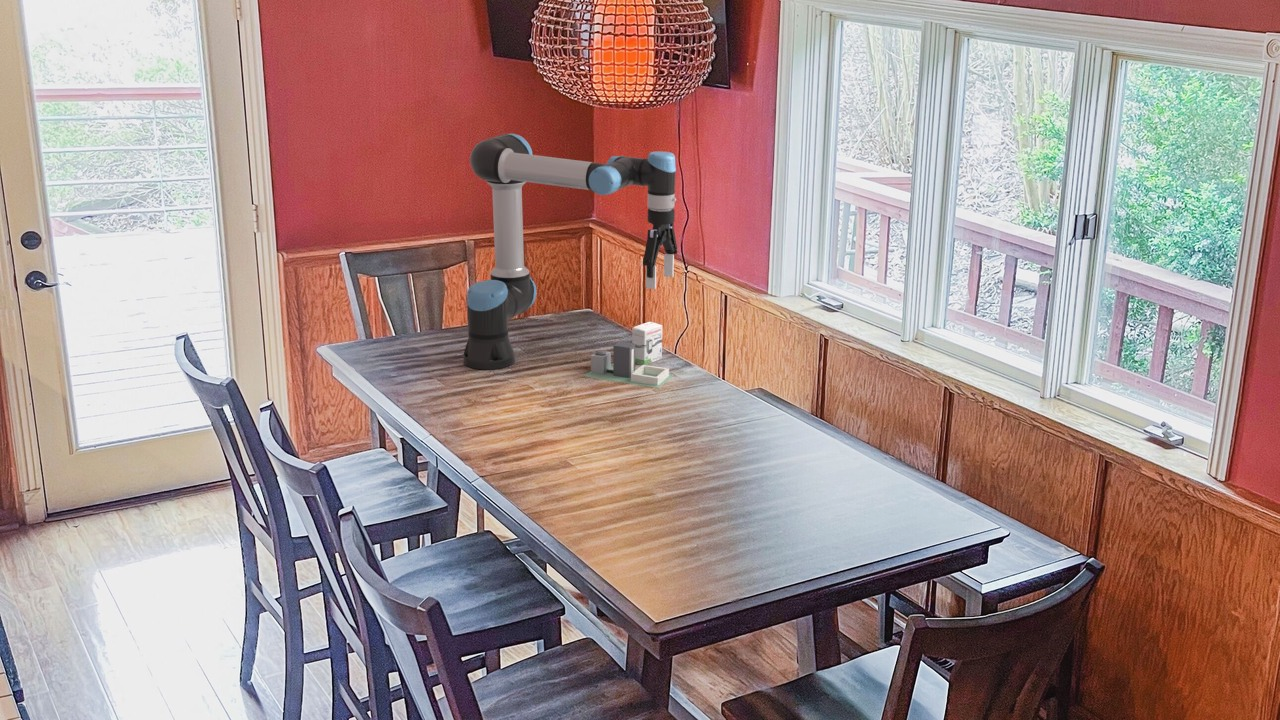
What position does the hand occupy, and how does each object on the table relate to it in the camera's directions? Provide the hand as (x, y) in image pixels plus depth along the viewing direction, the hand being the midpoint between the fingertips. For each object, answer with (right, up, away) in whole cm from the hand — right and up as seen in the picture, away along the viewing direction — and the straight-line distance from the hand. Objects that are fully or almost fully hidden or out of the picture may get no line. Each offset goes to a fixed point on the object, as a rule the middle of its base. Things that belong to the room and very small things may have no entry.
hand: (659, 282), depth 353 cm
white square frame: (-3, -27, 0) cm, 27 cm away
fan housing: (-16, -25, +6) cm, 30 cm away
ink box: (-4, -23, +16) cm, 28 cm away
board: (-9, -27, +3) cm, 29 cm away
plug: (-10, -26, +3) cm, 28 cm away
